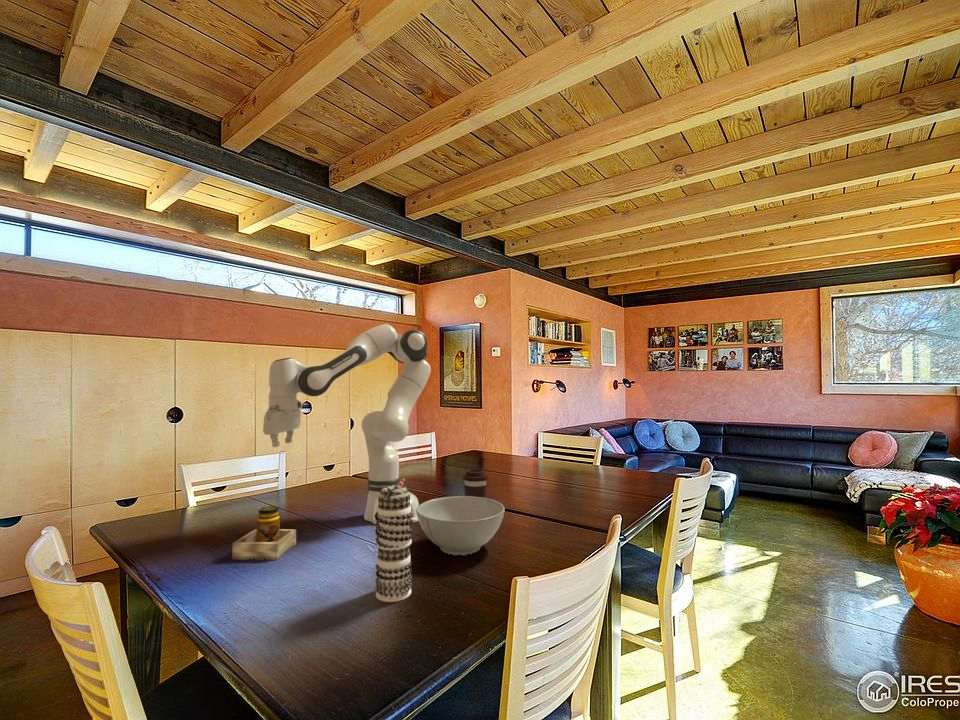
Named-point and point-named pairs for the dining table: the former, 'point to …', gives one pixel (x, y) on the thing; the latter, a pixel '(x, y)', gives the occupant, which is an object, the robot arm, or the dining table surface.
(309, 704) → the dining table surface
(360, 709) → the dining table surface
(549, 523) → the dining table surface
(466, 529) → the decorative bowl
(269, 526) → the condiment
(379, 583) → the decorative candle
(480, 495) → the coffee cup
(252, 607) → the dining table surface
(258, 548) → the caddy
